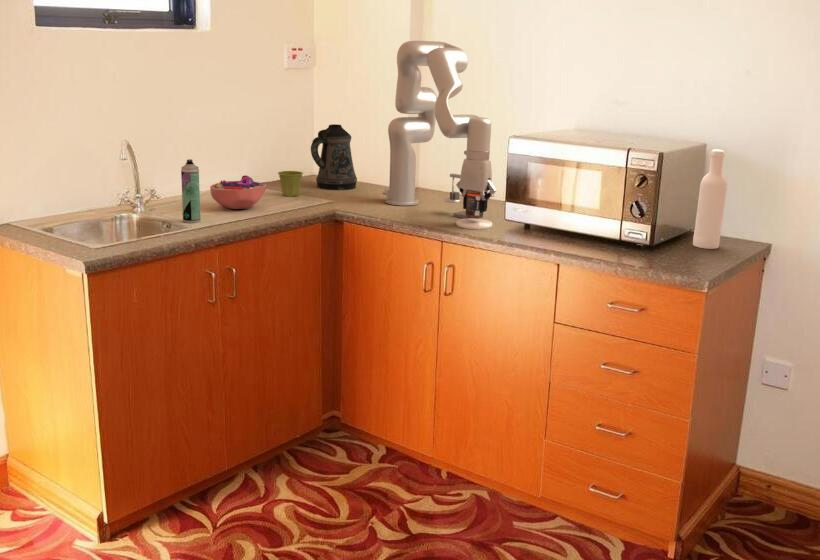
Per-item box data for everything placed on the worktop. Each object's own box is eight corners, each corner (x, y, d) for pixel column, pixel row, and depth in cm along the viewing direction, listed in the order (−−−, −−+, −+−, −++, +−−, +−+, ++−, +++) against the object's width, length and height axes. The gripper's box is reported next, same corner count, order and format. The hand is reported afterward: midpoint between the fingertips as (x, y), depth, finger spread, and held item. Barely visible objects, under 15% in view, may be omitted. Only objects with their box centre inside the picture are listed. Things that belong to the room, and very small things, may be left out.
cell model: (201, 207, 302) (200, 175, 299) (250, 201, 315) (250, 170, 312) (225, 215, 290) (224, 182, 287) (276, 209, 303) (275, 177, 300)
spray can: (194, 218, 284) (192, 158, 278) (203, 221, 280) (201, 160, 274) (179, 220, 280) (177, 159, 274) (188, 223, 276) (186, 161, 271)
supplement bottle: (482, 219, 284) (484, 185, 281) (464, 218, 285) (466, 184, 282) (484, 216, 290) (486, 182, 286) (466, 214, 291) (468, 181, 288)
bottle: (688, 242, 274) (700, 148, 266) (712, 243, 274) (725, 148, 266) (698, 249, 266) (710, 151, 258) (723, 249, 267) (736, 152, 259)
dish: (449, 225, 287) (449, 221, 287) (470, 220, 296) (470, 216, 296) (478, 231, 280) (478, 227, 280) (499, 225, 289) (499, 222, 288)
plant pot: (301, 198, 326) (301, 175, 323) (276, 197, 326) (276, 174, 323) (304, 193, 335) (304, 171, 332) (280, 192, 335) (280, 170, 332)
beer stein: (363, 185, 356) (364, 124, 349) (343, 192, 339) (344, 128, 332) (327, 182, 362) (327, 121, 355) (305, 189, 344) (305, 125, 337)
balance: (439, 213, 305) (441, 173, 302) (450, 211, 310) (451, 172, 306) (486, 222, 293) (488, 181, 289) (496, 220, 298) (498, 179, 294)
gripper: (449, 153, 284) (447, 207, 289) (493, 160, 274) (489, 215, 279) (463, 152, 290) (460, 204, 295) (506, 158, 279) (502, 212, 284)
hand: (474, 209), depth 287 cm, fingers closed on supplement bottle, 6 cm apart
